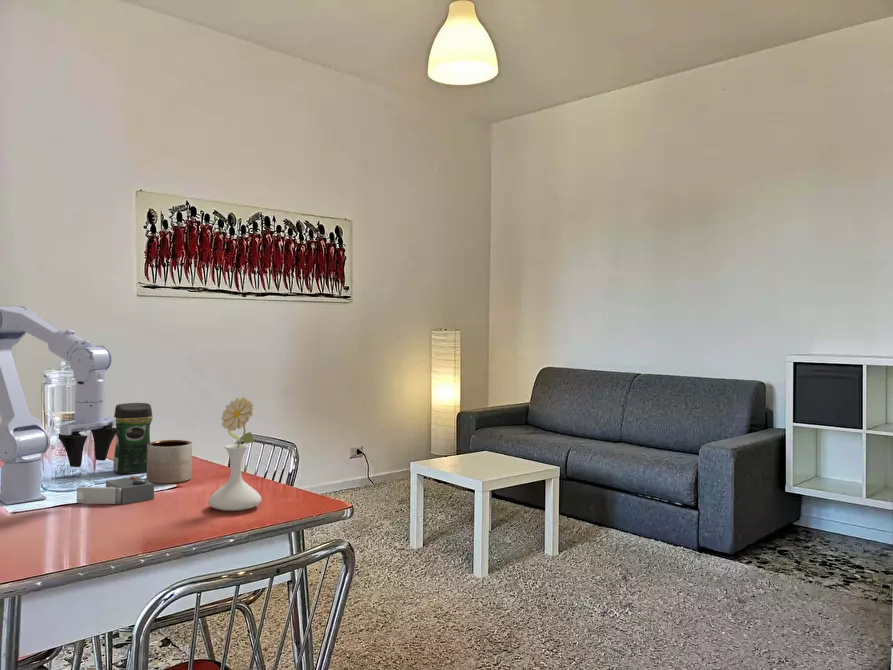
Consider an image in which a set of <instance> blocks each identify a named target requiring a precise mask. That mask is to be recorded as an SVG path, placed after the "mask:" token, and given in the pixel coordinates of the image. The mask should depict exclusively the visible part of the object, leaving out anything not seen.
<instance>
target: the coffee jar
mask: <svg viewBox="0 0 893 670" xmlns="http://www.w3.org/2000/svg"><path fill="white" fill-rule="evenodd" d="M152 410H153V409H152V405H151V404H150V403H146V402H129V403H127V402H126V403H118V404H116V406H115V409H114V413H113V414H114V416H113V417H114V418H116V426H115V428H118V430H117V433H116V435H115V447H114V454H113V455H114V456H113V467H112V469H113V472H114V473H115V474H121V475H123V474H125V473H131V474H139V473H138V472H140V473H144V472H146V473H147V447H148V443H151V435H150V433H151V431H150V429H151V428H150V427H151V424H152V422H153V418H154V417H153V411H152Z"/></svg>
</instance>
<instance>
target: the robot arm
mask: <svg viewBox="0 0 893 670" xmlns="http://www.w3.org/2000/svg"><path fill="white" fill-rule="evenodd" d="M26 334H29V335H31V336H33V337H35V338H36V339H38V340H41V341H43V342H44V343H46V344H47V347H48V349H49V351H50V352H51V354H54V355H56V356H58V357H59V358H61V359H62V360H64V361H66V362H67V363H69V366H70V369H71V370H72V373H73V377H72V378H73V380H74V381H75V390H74V391H75V393H74V394H75V395H74V397H75V399H74V421H72V422H68V423H65V424H61V425H60V426H59V427H60V429H59V433H58V439H59V441H60V443H61V444H62V446H63V448H64V450H65V453H66V455H67V459H68V462H69V467H71V468H81V466H82V463H83V454H84V453H83V452H84V448H85V443H86V441H87V439H88V435H83V434H81V433H82V432H88V431H90V432H91V435H92V438H93V443H94V457H95V461H106V460H107V457H108V453H109V449H110V446H111V445H112V441H113V440H114V438H115V437H116V433H117V430H118V428H116V418H114V416H113V417H112V416H107V417H105V397H106V396H105V395H106V394H105V389H106V388H105V387H106V371H107V370H108V369H110V367H111V366H112V361H113V359H112V354H111V352H110V350H109V349H107V347H105V345H96V346H94V345H93V344H92V342H91V341H90V340H88V339H86V340H85V339H83V338H82V337H80V336H78V335H76V331H74V330H73V329H60V330H58V329H56V328H55V327H53V326H52V325H51V324H49V323H48V322H47V321H45V320H43V319H42V318H40V317H39V316H37V315H36V313H35V311H34V310H31V309H29V308H28V307H27V306H21V305H20V306H19V305H18V306H0V418H1V422H0V462H3V464H2V465H1V468H0V501H1V502H2V503H4V504H5V505H13V504H20V503H26V502H27V503H28V502H34V501H35V502H36V501H41V500H46V499H47V496H46V495H44V494H42V493H41V481H42V480H41V478H42V475H41V474H42V473H41V471H42V469H41V468H42V459H43V458H44V457H45V456H44V455H45V453H46V452H47V451H48V450H49V448H50V444H51V439H50V435H49V433H48V432H47V431H46V429H45V428H44V426H43V424H42V421H41V420H40V419H39V418H37V417H35V416H33V415H32V414H31V413H30V410H29V407H28V404H27V400H26V398H25V394H24V391H23V386H22V383H21V381H20V377H19V375H18V370H17V366H16V365H15V360H14V357H13V353H12V348H13V347H14V346H15V345H17V344H18V343H19V342H20V341H21V340H22V339H23V337H25V335H26Z"/></svg>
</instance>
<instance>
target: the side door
mask: <svg viewBox="0 0 893 670" xmlns="http://www.w3.org/2000/svg"><path fill="white" fill-rule="evenodd" d="M76 503H77V504H105V505H106V504H110V505H115V504H116V505H121V488H108V487H106V486H105V487H103V486H100V487H99V486H90V487H89V486H77V488H76Z"/></svg>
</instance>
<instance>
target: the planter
mask: <svg viewBox="0 0 893 670" xmlns="http://www.w3.org/2000/svg"><path fill="white" fill-rule="evenodd" d="M192 476H193V442H192V441H189V440H183V439H165V440H163V439H162V440H157V441H156V440H155V441H150V443H148V447H147V471H146V481H148V482H151V483H153V484H154V483H155V484H154V485H175V484H176V485H177V484H181V483H182V484H183V483H185V482H188V481H189V480H190V479H192Z"/></svg>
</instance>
